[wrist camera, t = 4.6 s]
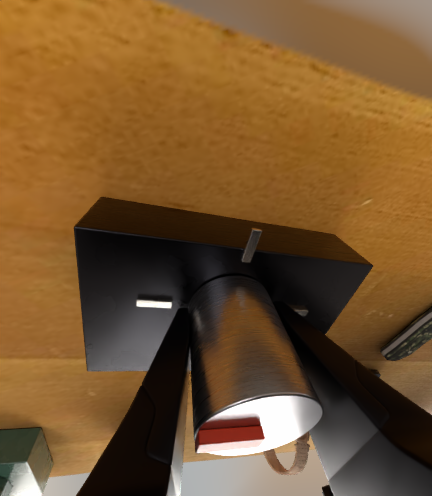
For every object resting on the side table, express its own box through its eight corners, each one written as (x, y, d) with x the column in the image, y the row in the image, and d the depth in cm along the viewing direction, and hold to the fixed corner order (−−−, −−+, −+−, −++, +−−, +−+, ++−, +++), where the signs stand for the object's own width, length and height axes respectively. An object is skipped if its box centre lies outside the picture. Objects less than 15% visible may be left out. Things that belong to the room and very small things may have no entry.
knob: (280, 278, 9) (356, 405, 5) (254, 334, 11) (297, 462, 7) (196, 270, 9) (211, 413, 5) (182, 332, 10) (184, 475, 6)
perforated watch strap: (295, 395, 22) (322, 462, 18) (268, 418, 24) (287, 483, 20) (274, 392, 21) (297, 462, 17) (248, 416, 23) (263, 484, 19)
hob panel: (343, 219, 12) (389, 250, 9) (281, 330, 16) (302, 373, 14) (100, 174, 9) (67, 201, 6) (103, 323, 13) (85, 375, 11)
